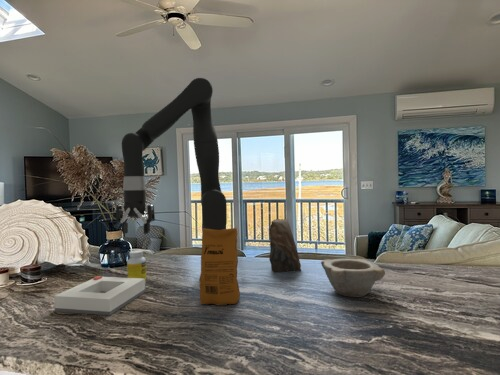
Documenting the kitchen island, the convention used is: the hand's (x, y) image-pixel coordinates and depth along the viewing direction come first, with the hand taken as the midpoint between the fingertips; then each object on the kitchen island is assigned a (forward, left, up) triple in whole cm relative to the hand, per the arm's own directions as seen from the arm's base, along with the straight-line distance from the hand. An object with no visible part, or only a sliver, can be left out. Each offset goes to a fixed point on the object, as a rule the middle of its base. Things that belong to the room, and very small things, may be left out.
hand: (135, 233), depth 110 cm
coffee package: (-35, +11, -18) cm, 41 cm away
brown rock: (-52, -24, -18) cm, 60 cm away
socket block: (+1, +17, -18) cm, 25 cm away
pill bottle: (0, 0, -18) cm, 18 cm away
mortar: (-75, -1, -19) cm, 77 cm away
